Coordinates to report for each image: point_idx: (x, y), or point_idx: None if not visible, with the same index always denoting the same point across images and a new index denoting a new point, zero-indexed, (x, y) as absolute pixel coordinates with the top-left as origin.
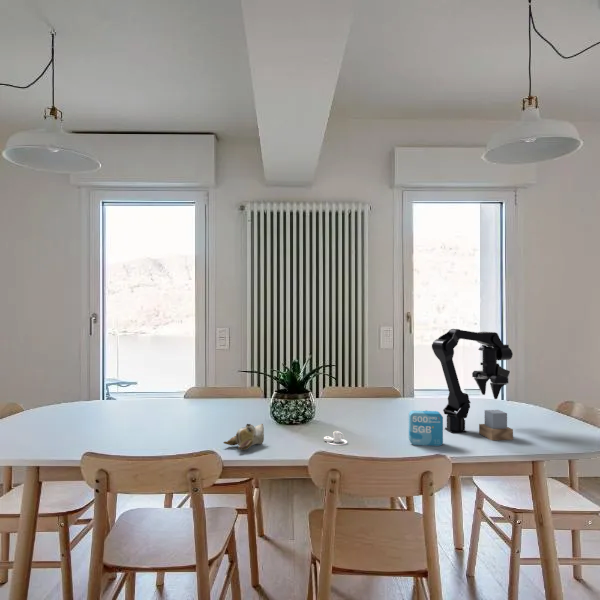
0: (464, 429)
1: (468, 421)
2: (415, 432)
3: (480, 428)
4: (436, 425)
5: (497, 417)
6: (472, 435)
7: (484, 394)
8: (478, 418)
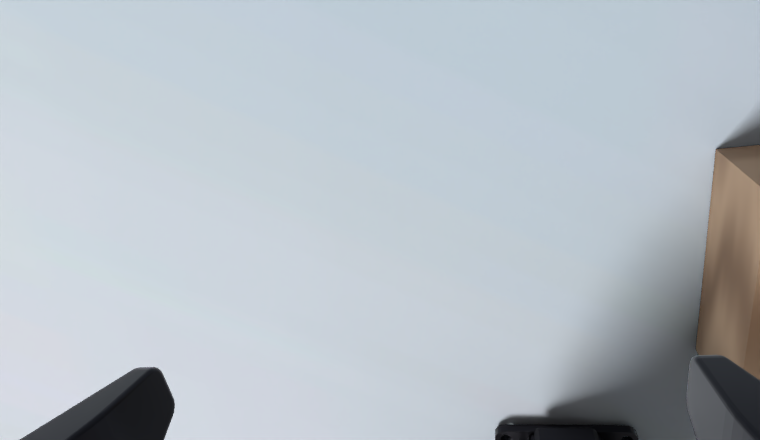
0: (596, 434)
1: (238, 252)
2: None
3: None
4: None
5: None
6: None
7: (158, 379)
8: (88, 103)
